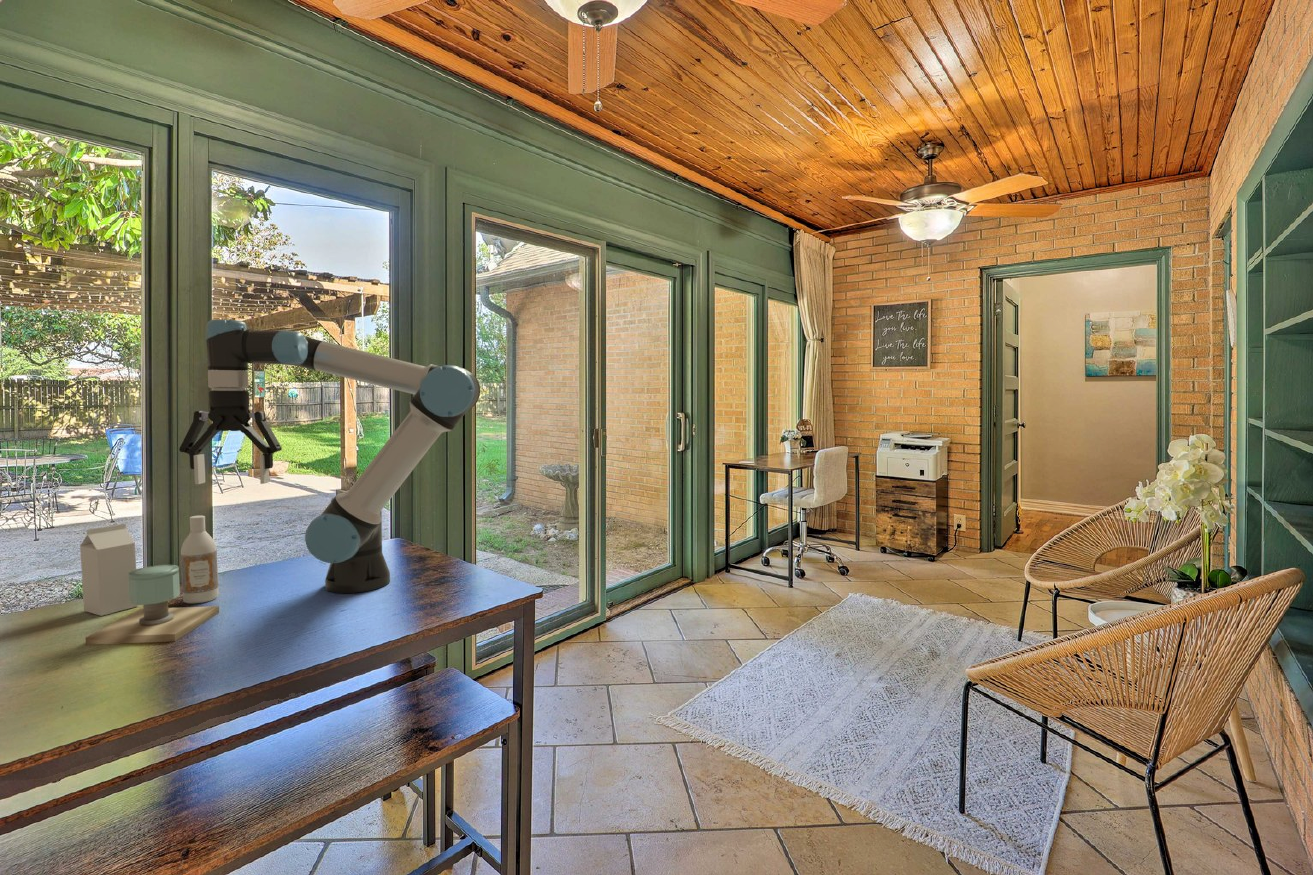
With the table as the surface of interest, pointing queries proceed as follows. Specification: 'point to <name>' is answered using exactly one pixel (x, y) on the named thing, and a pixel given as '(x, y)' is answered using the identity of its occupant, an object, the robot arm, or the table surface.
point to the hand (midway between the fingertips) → (232, 483)
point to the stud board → (153, 624)
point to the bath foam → (199, 564)
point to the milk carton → (107, 569)
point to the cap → (154, 584)
